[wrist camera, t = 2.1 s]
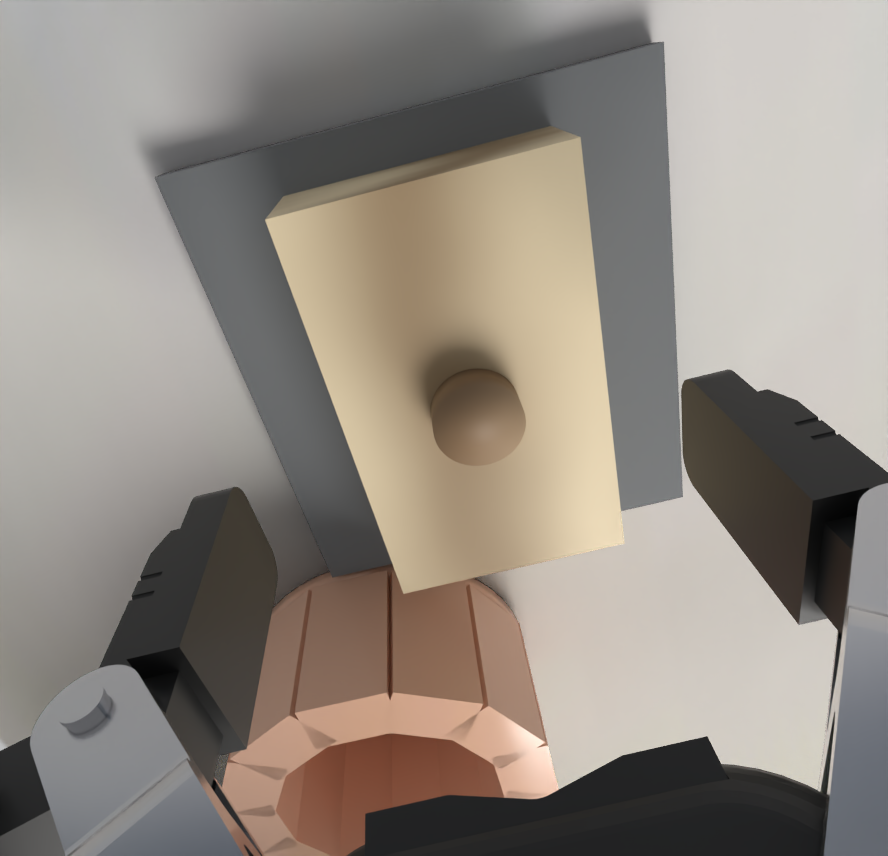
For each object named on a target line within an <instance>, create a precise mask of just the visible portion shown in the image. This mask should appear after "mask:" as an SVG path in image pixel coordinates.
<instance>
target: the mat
mask: <svg viewBox="0 0 888 856" xmlns="http://www.w3.org/2000/svg"><path fill="white" fill-rule="evenodd" d="M549 126H552V127H555V128H558V129H560V130H563V131H566V132H568V133H571V134H573V135H576V136H579V137H581V146H582V155H583V164H584V174H585V183H586V192H587V201H588V211H589V220H590V229H591V239H592V248H593V257H594V266H595V276H596V285H597V294H598V303H599V313H600V322H601V331H602V340H603V350H604V359H605V368H606V377H607V387H608V396H609V405H610V414H611V424H612V433H613V442H614V452H615V461H616V470H617V479H618V489H619V498H620V507H621V511H624V510H628V509H632V508H637V507H641V506H645V505H650V504H654V503H658V502H663V501H667V500H671V499H676V498H680V497H683V491H682V467H681V443H680V419H679V395H678V372H677V348H676V324H675V300H674V276H673V252H672V228H671V205H670V181H669V157H668V133H667V109H666V85H665V62H664V42H657V43H650V44H647V45H643V46H639V47H635V48H632V49H628V50H624V51H620V52H617V53H613V54H609V55H605V56H602V57H598V58H594V59H590V60H587V61H583V62H579V63H575V64H572V65H568V66H564V67H561V68H557V69H553V70H549V71H546V72H542V73H538V74H534V75H531V76H527V77H523V78H519V79H516V80H512V81H508V82H504V83H501V84H497V85H493V86H489V87H486V88H482V89H478V90H474V91H471V92H467V93H463V94H459V95H456V96H452V97H448V98H445V99H441V100H437V101H433V102H430V103H426V104H422V105H418V106H415V107H411V108H407V109H403V110H400V111H396V112H392V113H388V114H385V115H381V116H377V117H373V118H370V119H366V120H362V121H358V122H355V123H351V124H347V125H343V126H340V127H336V128H332V129H328V130H325V131H321V132H317V133H314V134H310V135H306V136H302V137H299V138H295V139H291V140H287V141H284V142H280V143H276V144H272V145H269V146H265V147H261V148H257V149H254V150H250V151H246V152H242V153H239V154H235V155H231V156H227V157H224V158H220V159H216V160H212V161H209V162H205V163H201V164H198V165H194V166H190V167H186V168H183V169H179V170H175V171H171V172H168V173H164V174H162V175H160V176H157V177H155V180H156V182H157V184H158V187H159V189H160V191H161V193H162V196H163V198H164V200H165V202H166V205H167V207H168V209H169V211H170V214H171V216H172V218H173V220H174V223H175V225H176V227H177V229H178V232H179V234H180V236H181V238H182V241H183V243H184V245H185V247H186V250H187V252H188V254H189V256H190V259H191V261H192V263H193V265H194V268H195V270H196V272H197V274H198V277H199V279H200V281H201V283H202V286H203V288H204V290H205V292H206V295H207V297H208V299H209V301H210V304H211V306H212V308H213V310H214V313H215V315H216V317H217V319H218V322H219V324H220V326H221V328H222V331H223V333H224V335H225V337H226V340H227V342H228V344H229V346H230V349H231V351H232V353H233V355H234V358H235V360H236V362H237V364H238V367H239V369H240V371H241V373H242V376H243V378H244V380H245V382H246V385H247V387H248V389H249V391H250V394H251V396H252V398H253V400H254V403H255V405H256V407H257V409H258V412H259V414H260V416H261V418H262V421H263V423H264V425H265V427H266V430H267V432H268V434H269V436H270V439H271V441H272V443H273V445H274V448H275V450H276V452H277V454H278V457H279V459H280V461H281V463H282V466H283V468H284V470H285V472H286V475H287V477H288V479H289V481H290V484H291V486H292V488H293V490H294V493H295V495H296V497H297V499H298V502H299V504H300V506H301V508H302V511H303V513H304V515H305V517H306V520H307V522H308V524H309V526H310V529H311V531H312V533H313V535H314V538H315V540H316V542H317V544H318V547H319V549H320V551H321V553H322V556H323V558H324V560H325V562H326V565H327V567H328V569H329V571H330V574H331V576H332V578H333V577H337V576H341V575H346V574H350V573H354V572H359V571H363V570H367V569H372V568H376V567H381V566H385V565H389V564H392V561H391V559H390V556H389V553H388V551H387V548H386V545H385V543H384V540H383V537H382V534H381V532H380V529H379V526H378V524H377V521H376V518H375V516H374V513H373V510H372V507H371V505H370V502H369V499H368V497H367V494H366V491H365V489H364V486H363V483H362V480H361V478H360V475H359V472H358V470H357V467H356V464H355V462H354V459H353V456H352V453H351V451H350V448H349V445H348V443H347V440H346V437H345V435H344V432H343V429H342V426H341V424H340V421H339V418H338V416H337V413H336V410H335V408H334V405H333V402H332V399H331V397H330V394H329V391H328V389H327V386H326V383H325V381H324V378H323V375H322V372H321V370H320V367H319V364H318V362H317V359H316V356H315V354H314V351H313V348H312V345H311V343H310V340H309V337H308V335H307V332H306V329H305V327H304V324H303V321H302V318H301V316H300V313H299V310H298V308H297V305H296V302H295V300H294V297H293V294H292V292H291V289H290V286H289V283H288V281H287V278H286V275H285V273H284V270H283V267H282V265H281V262H280V259H279V256H278V254H277V251H276V248H275V246H274V243H273V240H272V238H271V235H270V232H269V229H268V227H267V224H266V221H265V219H266V218H267V216H268V215H269V214H270V213H271V211H272V210H273V209H274V208H275V206H276V205H277V204H278V202H279V201H280V200H281V199H282V197H283V196H286V195H290V194H294V193H297V192H301V191H305V190H309V189H313V188H317V187H320V186H324V185H328V184H332V183H336V182H339V181H343V180H347V179H351V178H355V177H358V176H362V175H366V174H370V173H374V172H377V171H381V170H385V169H389V168H393V167H396V166H400V165H404V164H408V163H412V162H415V161H419V160H423V159H427V158H431V157H435V156H438V155H442V154H446V153H450V152H454V151H457V150H461V149H465V148H469V147H473V146H476V145H480V144H484V143H488V142H492V141H495V140H499V139H503V138H507V137H511V136H514V135H518V134H522V133H526V132H530V131H534V130H537V129H541V128H545V127H549Z"/></svg>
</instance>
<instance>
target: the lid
mask: <svg viewBox="0 0 888 856" xmlns="http://www.w3.org/2000/svg"><path fill="white" fill-rule="evenodd" d="M265 221H266V224H267V227H268V229H269V232H270V235H271V238H272V240H273V243H274V246H275V248H276V251H277V254H278V256H279V259H280V262H281V265H282V267H283V270H284V273H285V275H286V278H287V281H288V283H289V286H290V289H291V292H292V294H293V297H294V300H295V302H296V305H297V308H298V310H299V313H300V316H301V318H302V321H303V324H304V327H305V329H306V332H307V335H308V337H309V340H310V343H311V345H312V348H313V351H314V354H315V356H316V359H317V362H318V364H319V367H320V370H321V372H322V375H323V378H324V381H325V383H326V386H327V389H328V391H329V394H330V397H331V399H332V402H333V405H334V408H335V410H336V413H337V416H338V418H339V421H340V424H341V426H342V429H343V432H344V435H345V437H346V440H347V443H348V445H349V448H350V451H351V453H352V456H353V459H354V462H355V464H356V467H357V470H358V472H359V475H360V478H361V480H362V483H363V486H364V489H365V491H366V494H367V497H368V499H369V502H370V505H371V507H372V510H373V513H374V516H375V518H376V521H377V524H378V526H379V529H380V532H381V534H382V537H383V540H384V543H385V545H386V548H387V551H388V553H389V556H390V559H391V561H392V564H393V567H394V570H395V572H396V575H397V578H398V580H399V583H400V586H401V588H402V591H403V594H405V593H409V592H414V591H418V590H423V589H427V588H431V587H436V586H440V585H445V584H449V583H453V582H458V581H462V580H467V579H471V578H475V577H480V576H484V575H488V574H493V573H497V572H502V571H506V570H510V569H515V568H519V567H524V566H528V565H532V564H537V563H541V562H546V561H550V560H554V559H559V558H563V557H568V556H572V555H576V554H581V553H585V552H590V551H594V550H598V549H603V548H607V547H611V546H616V545H620V544H624V535H623V526H622V516H621V507H620V498H619V489H618V479H617V470H616V461H615V452H614V442H613V433H612V424H611V414H610V405H609V396H608V387H607V377H606V368H605V359H604V350H603V340H602V331H601V322H600V313H599V303H598V294H597V285H596V276H595V266H594V257H593V248H592V239H591V229H590V220H589V211H588V201H587V192H586V183H585V174H584V164H583V155H582V146H581V137H579V136H576V135H573V134H571V133H568V132H566V131H563V130H560V129H558V128H555V127H552V126H549V127H545V128H541V129H537V130H534V131H530V132H526V133H522V134H518V135H514V136H511V137H507V138H503V139H499V140H495V141H492V142H488V143H484V144H480V145H476V146H473V147H469V148H465V149H461V150H457V151H454V152H450V153H446V154H442V155H438V156H435V157H431V158H427V159H423V160H419V161H415V162H412V163H408V164H404V165H400V166H396V167H393V168H389V169H385V170H381V171H377V172H374V173H370V174H366V175H362V176H358V177H355V178H351V179H347V180H343V181H339V182H336V183H332V184H328V185H324V186H320V187H317V188H313V189H309V190H305V191H301V192H297V193H294V194H290V195H286V196H283V197H282V199H281V200H280V201H279V202H278V204H277V205H276V206H275V208H274V209H273V210H272V211H271V213H270V214H269V215H268V216H267V218H266V219H265Z"/></svg>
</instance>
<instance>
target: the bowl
mask: <svg viewBox="0 0 888 856" xmlns="http://www.w3.org/2000/svg"><path fill="white" fill-rule="evenodd" d="M222 789H223V790H224V792H225V794H226V795H227V797H228V798H229V800H230V802H231V803H232V805H233V806H234V808H235V809H236V811H237V813H238V814H239V816H240V817H241V819H242V821H243V822H244V824H245V825H246V827H247V828H248V830H249V832H250V833H251V835H252V836H253V838H254V839H255V841H256V843H257V844H258V846H259V847H260V849H261V851H262V852H263V854H264V855H265V856H347V855H348V854H349V853H351V852H352V851H354V850H355V849H357V848H359V847H361V846H363V845H364V844H365V814H366V813H370V812H375V811H379V810H383V809H388V808H392V807H397V806H401V805H406V804H410V803H415V802H419V801H423V800H428V799H432V798H437V797H441V796H446V795H461V796H481V797H501V798H521V799H538V798H543V797H545V796H548V795H550V794H552V793H554V792H555V791H557V790H559V789H558V784H557V780H556V776H555V772H554V767H553V763H552V759H551V755H550V750H549V746H548V742H547V738H546V733H545V729H544V725H543V721H542V716H541V712H540V708H539V703H538V699H537V695H536V691H535V686H534V682H533V678H532V674H531V669H530V665H529V661H528V657H527V653H526V649H525V645H524V641H523V636H522V632H521V629H520V624H519V623H518V621H517V619H516V617H515V616H514V614H513V612H512V610H511V609H510V608H509V606H508V605H507V604H506V603H505V602H504V600H503V599H502V598H501V597H499V596H498V595H497V594H496V593H495V592H494V591H493V590H492V589H490V588H489V587H487V586H486V585H484V584H483V583H481V582H480V581H478V580H476V579H474V578H471V579H467V580H462V581H458V582H453V583H449V584H445V585H440V586H436V587H431V588H427V589H423V590H418V591H414V592H409V593H405V594H403V591H402V588H401V586H400V583H399V580H398V578H397V575H396V572H395V570H394V567H393V564H389V565H385V566H381V567H376V568H372V569H367V570H363V571H359V572H354V573H350V574H346V575H341V576H337V577H333V578H332V576H331V574H330V572H328V573H325V574H323V575H320V576H318V577H315V578H313V579H312V580H310V581H308V582H306V583H304V584H302V585H301V586H299V587H298V588H296V589H295V590H293V591H292V592H291V593H289V594H288V595H286V596H285V597H284V598H283V599H282V600H281V601H280V602H279V603H278V604H277V605H276V606H275V607H274V608H273V609H272V614H271V620H270V625H269V631H268V636H267V642H266V647H265V652H264V658H263V663H262V669H261V674H260V680H259V685H258V691H257V696H256V701H255V707H254V712H253V718H252V723H251V729H250V734H249V740H248V745H247V749H246V750H241V751H237V752H233V753H229V757H228V761H227V766H226V770H225V775H224V779H223V784H222Z"/></svg>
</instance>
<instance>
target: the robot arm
mask: <svg viewBox="0 0 888 856" xmlns="http://www.w3.org/2000/svg"><path fill="white" fill-rule="evenodd" d="M681 398H682V440H683V458H684V464H685V467H686V471H687V474H688V476H689V478H690V481H691V483H692V484H693V486H694V487H695V489H696V490H697V491H698V493H699V494H700V495H701V497H702V498H703V499H704V501H705V502H706V503H707V505H708V506H709V507H710V509H711V510H712V511H713V512H714V514H715V515H716V516H717V518H718V519H719V520H720V522H721V523H722V524H723V526H724V527H725V528H726V530H727V531H728V532H729V534H730V535H731V536H732V538H733V539H734V540H735V541H736V543H737V544H738V545H739V547H740V548H741V549H742V551H743V552H744V553H745V555H746V556H747V557H748V559H749V560H750V561H751V563H752V564H753V565H754V566H755V568H756V569H757V570H758V572H759V573H760V574H761V576H762V577H763V578H764V580H765V581H766V582H767V584H768V585H769V586H770V588H771V589H772V590H773V591H774V593H775V594H776V595H777V597H778V598H779V599H780V601H781V602H782V603H783V605H784V606H785V607H786V609H787V610H788V611H789V613H790V614H791V615H792V617H793V618H794V619H795V620H796V622H797V623H798V624H799V625H800V624H805V623H809V622H814V621H818V620H822V619H827V618H828V619H829V620H830V621H831V623H832V624H833V625H834V626H835V627H836V629H837V630H838V632H837V639H836V645H835V654H834V662H833V671H832V679H831V688H830V696H829V705H828V713H827V722H826V730H825V739H824V747H823V755H822V763H821V770H820V777H819V784H818V790H816V789H814V788H812V787H810V786H808V785H805V784H803V783H800V782H798V781H795V780H792V779H790V778H787V777H785V776H782V775H779V774H775V773H771V772H768V771H764V770H760V769H756V768H750V767H744V766H738V765H728V764H721V763H720V761H719V759H718V757H717V755H716V753H715V751H714V749H713V747H712V745H711V743H710V741H709V739H708V737H702V738H698V739H694V740H689V741H685V742H680V743H676V744H671V745H667V746H663V747H658V748H654V749H649V750H645V751H640V752H636V753H632V754H627V755H623V756H621V757H619V758H617V759H615V760H613V761H611V762H609V763H608V764H606V765H604V766H602V767H600V768H598V769H596V770H595V771H593V772H591V773H589V774H587V775H585V776H583V777H582V778H580V779H578V780H576V781H574V782H572V783H570V784H568V785H567V786H565V787H563V788H561V789H559V790H557V791H555V792H554V793H552V794H550V795H548V796H545V797H543V798H538V799H521V798H501V797H481V796H461V795H446V796H441V797H437V798H432V799H428V800H423V801H419V802H415V803H410V804H406V805H401V806H397V807H392V808H388V809H383V810H379V811H375V812H370V813H366V814H365V844H364V845H363V846H361V847H359V848H357V849H355V850H354V851H352V852H351V853H349V854H348V855H347V856H888V472H886V471H885V470H884V469H883V468H881V467H880V466H879V465H878V464H876V463H875V462H874V461H873V460H871V459H870V458H869V457H868V456H866V455H865V454H864V453H862V452H861V451H860V450H859V449H857V448H856V447H855V446H854V445H852V444H851V443H850V442H849V441H847V440H846V439H845V438H844V437H842V436H841V435H840V434H838V435H836V433H835V430H834V429H832V428H831V427H830V426H828V425H827V424H826V423H825V422H823V421H822V420H821V421H819V420H818V417H817V416H816V415H815V414H813V413H812V412H811V411H810V410H808V409H807V408H806V407H805V406H803V405H802V404H801V403H800V402H798V401H797V400H794V399H792V398H789V397H786V396H784V395H781V394H778V393H776V392H773V391H770V390H768V389H767V390H762V391H758V392H757V391H756V390H755V389H754V388H752V387H751V386H750V385H749V384H748V383H747V382H745V381H744V380H743V379H742V378H741V377H740V376H738V375H737V374H736V373H735V372H733V371H732V370H724V371H720V372H716V373H712V374H708V375H703V376H699V377H695V378H691V379H687V380H685V381H684V383H683V385H682V391H681ZM140 577H141V581H138V583H137V585H136V588H135V590H134V592H133V594H132V600H131V601H129V603H128V605H127V607H126V610H125V612H124V614H123V616H122V618H121V621H120V623H119V625H118V627H117V630H116V632H115V634H114V636H113V638H112V641H111V643H110V645H109V647H108V649H107V652H106V654H105V656H104V658H103V660H102V663H101V665H100V667H99V669H96V670H94V671H91V672H89V673H87V674H85V675H83V676H82V677H80V678H78V679H77V680H75V681H74V682H72V683H71V684H70V685H68V686H67V687H66V688H64V689H63V690H62V691H61V692H60V693H59V694H58V695H56V697H55V698H54V699H53V700H52V701H51V702H50V703H49V704H48V705H47V707H46V708H45V709H44V710H43V712H42V713H41V715H40V716H39V718H38V719H37V721H36V723H35V726H34V728H33V731H32V734H31V736H30V737H28V738H26V739H24V740H22V741H20V742H18V743H16V744H14V745H12V746H10V747H8V748H6V749H4V750H2V751H0V856H265V855H264V854H263V852H262V851H261V849H260V847H259V846H258V844H257V843H256V841H255V839H254V838H253V836H252V835H251V833H250V832H249V830H248V828H247V827H246V825H245V824H244V822H243V821H242V819H241V817H240V816H239V814H238V813H237V811H236V809H235V808H234V806H233V805H232V803H231V802H230V800H229V798H228V797H227V795H226V794H225V792H224V790H223V789H222V787H221V786H220V784H219V783H218V781H217V780H216V779H215V777H214V775H215V770H216V766H217V761H218V757H219V756H220V755H224V754H228V753H233V752H237V751H241V750H246V749H247V745H248V740H249V734H250V729H251V723H252V718H253V712H254V707H255V701H256V696H257V691H258V685H259V680H260V674H261V669H262V663H263V658H264V652H265V647H266V642H267V636H268V631H269V625H270V620H271V614H272V609H273V603H274V598H275V593H276V587H277V567H276V562H275V558H274V554H273V551H272V549H271V547H270V545H269V543H268V541H267V539H266V537H265V535H264V532H263V530H262V528H261V526H260V524H259V522H258V520H257V518H256V516H255V514H254V512H253V510H252V508H251V506H250V504H249V502H248V499H247V497H246V496H245V494H244V492H243V491H242V490H241V489H240V488H238V487H234V488H229V489H225V490H221V491H217V492H213V493H209V494H205V495H200V496H196V497H195V498H194V499H193V500H192V502H191V504H190V506H189V509H188V511H187V514H186V516H185V518H184V521H183V523H182V526H181V528H180V529H177V530H173V531H171V532H170V533H169V534H168V535H167V536H166V537H165V538H164V540H163V541H162V542H161V543H160V544H159V545H158V546H157V547H156V548H155V550H154V551H153V552H152V553H151V554H150V557H149V559H148V561H147V563H146V565H145V568H144V570H143V572H142V574H141V576H140Z"/></svg>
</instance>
